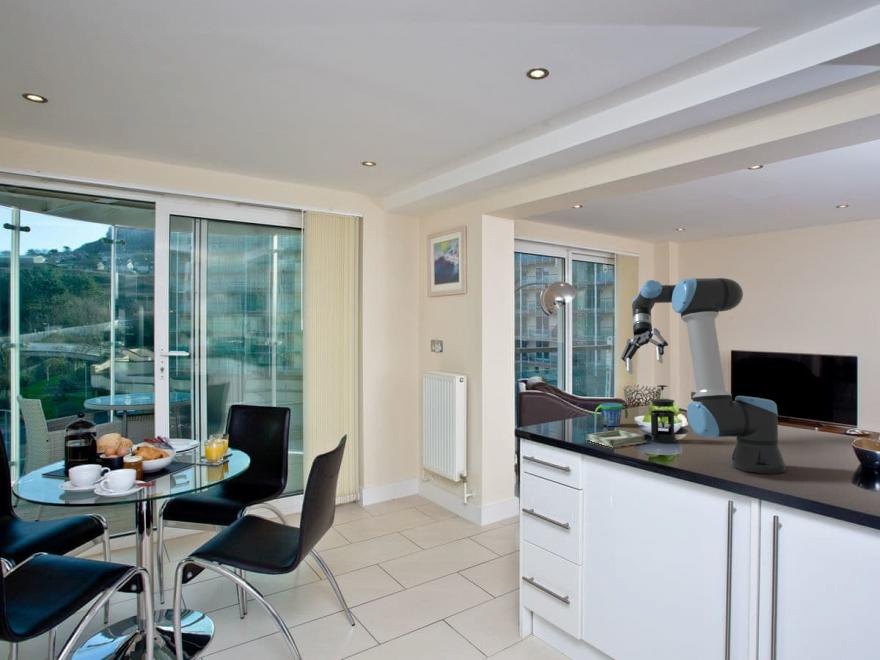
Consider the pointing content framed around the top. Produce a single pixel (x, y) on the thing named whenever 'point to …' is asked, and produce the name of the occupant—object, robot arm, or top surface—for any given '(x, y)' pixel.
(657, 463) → the top surface
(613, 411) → the snack cup
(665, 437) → the french press
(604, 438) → the tray
